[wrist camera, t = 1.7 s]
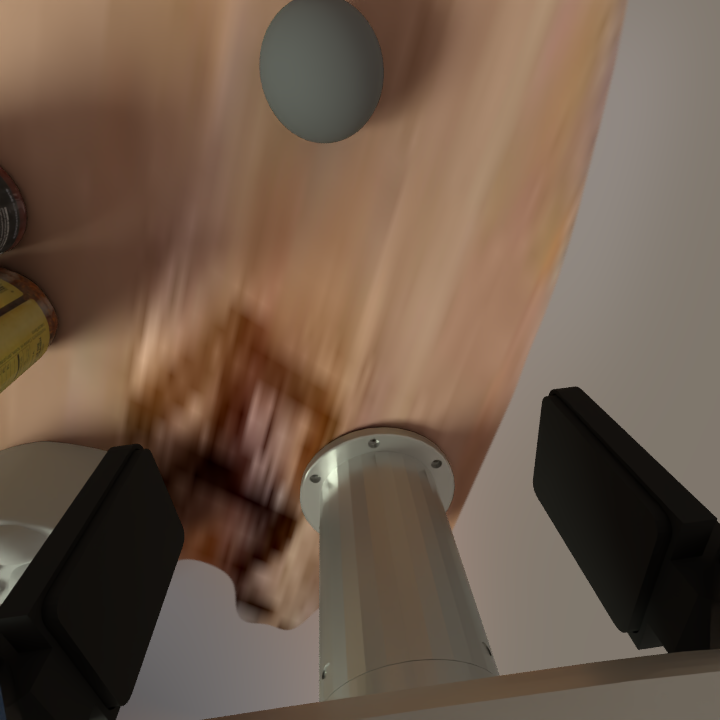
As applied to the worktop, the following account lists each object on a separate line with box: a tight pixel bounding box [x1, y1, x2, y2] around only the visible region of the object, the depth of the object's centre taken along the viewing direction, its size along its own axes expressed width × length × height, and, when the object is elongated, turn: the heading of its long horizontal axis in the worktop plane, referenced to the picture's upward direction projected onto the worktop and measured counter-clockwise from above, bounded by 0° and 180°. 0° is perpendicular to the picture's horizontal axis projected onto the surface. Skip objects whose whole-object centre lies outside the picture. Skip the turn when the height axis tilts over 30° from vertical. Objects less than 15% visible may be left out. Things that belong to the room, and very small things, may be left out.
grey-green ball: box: [260, 0, 384, 143], centre depth 19 cm, size 6×6×6 cm
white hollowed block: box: [0, 442, 107, 606], centre depth 29 cm, size 10×13×9 cm
